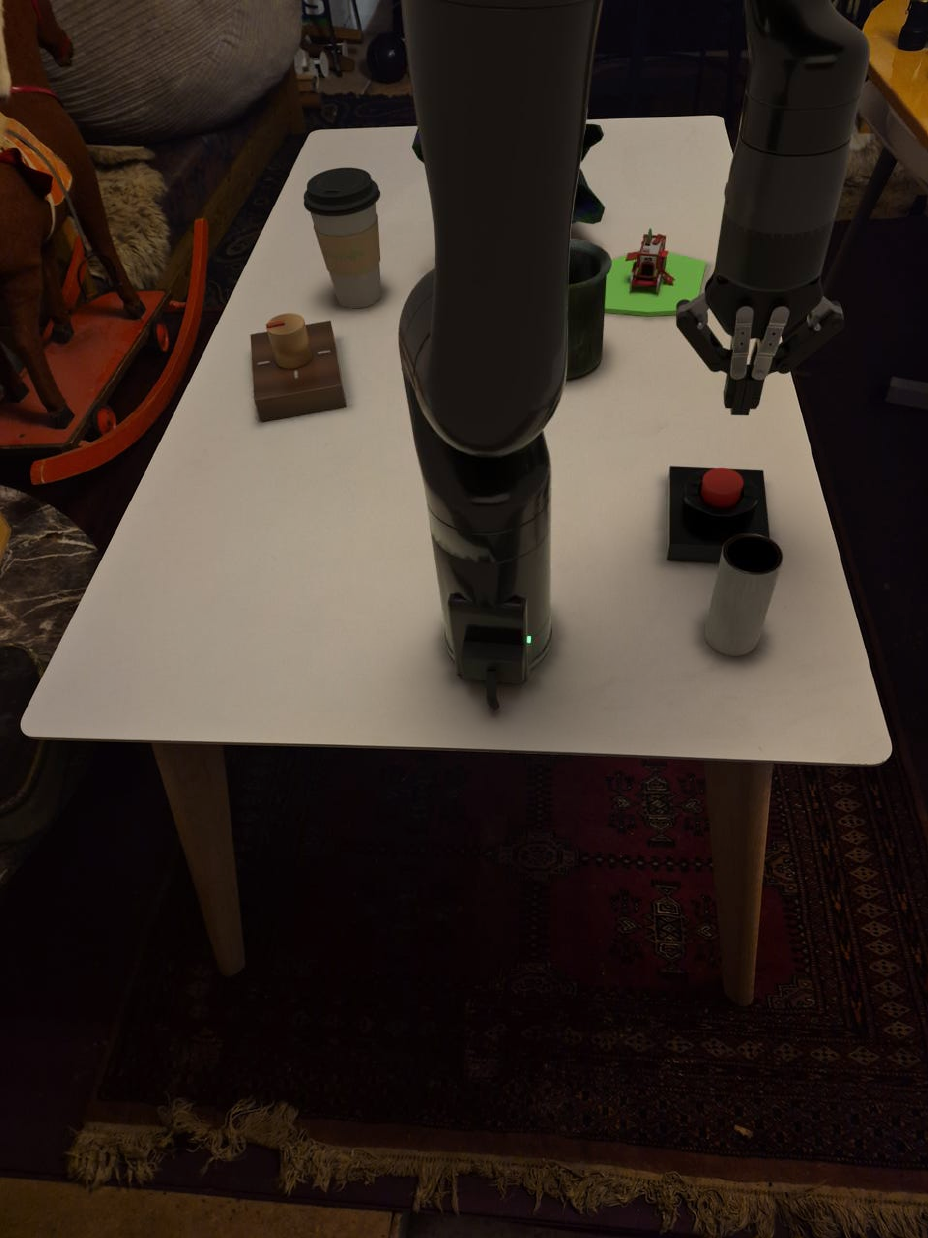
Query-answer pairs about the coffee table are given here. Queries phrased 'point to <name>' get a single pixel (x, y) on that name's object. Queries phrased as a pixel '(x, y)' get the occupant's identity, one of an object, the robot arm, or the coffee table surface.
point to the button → (721, 487)
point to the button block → (710, 515)
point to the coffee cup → (347, 232)
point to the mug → (586, 305)
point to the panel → (297, 377)
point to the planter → (742, 593)
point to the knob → (289, 340)
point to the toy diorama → (652, 280)
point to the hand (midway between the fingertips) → (739, 409)
